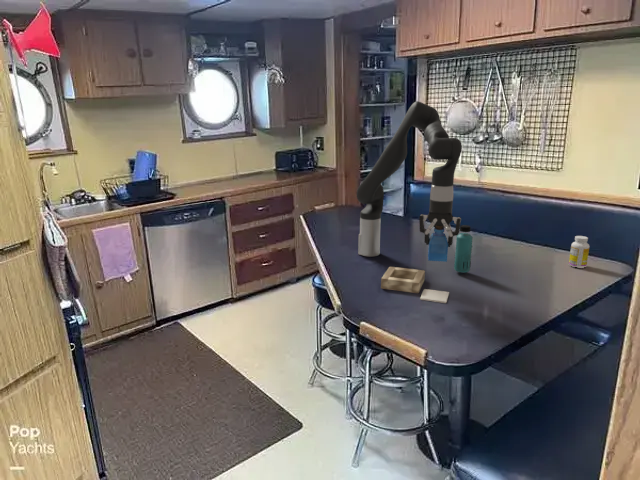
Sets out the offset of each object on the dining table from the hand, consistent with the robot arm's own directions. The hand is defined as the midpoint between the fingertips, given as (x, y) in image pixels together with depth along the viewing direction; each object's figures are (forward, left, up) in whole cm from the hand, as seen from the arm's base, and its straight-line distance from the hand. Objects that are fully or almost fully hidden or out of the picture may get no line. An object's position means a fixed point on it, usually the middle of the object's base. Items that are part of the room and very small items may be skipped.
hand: (438, 245), depth 161 cm
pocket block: (-13, +8, -19) cm, 25 cm away
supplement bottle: (+52, +53, -20) cm, 77 cm away
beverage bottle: (+7, +28, -20) cm, 35 cm away
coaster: (0, 0, -19) cm, 19 cm away
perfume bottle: (0, 0, -5) cm, 5 cm away
